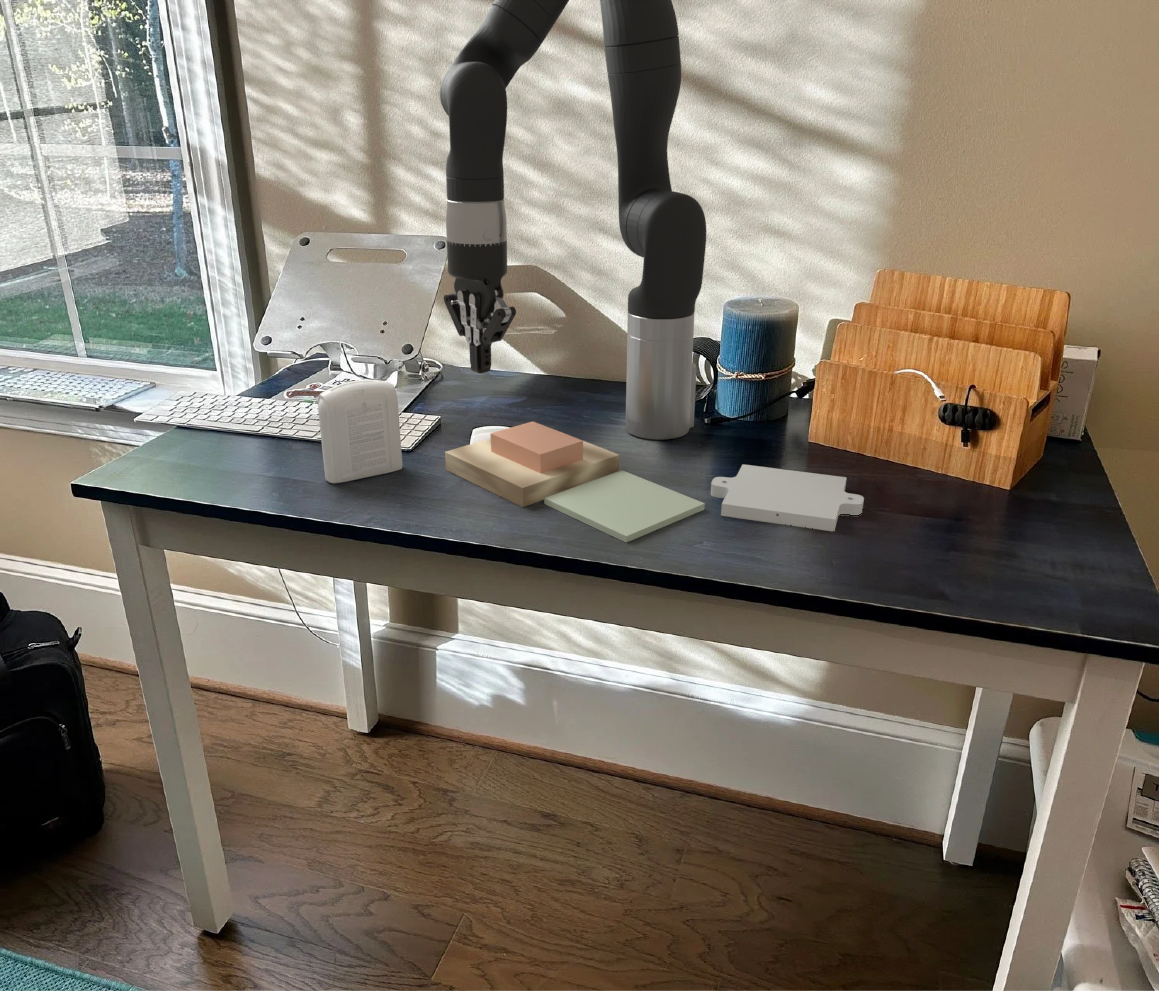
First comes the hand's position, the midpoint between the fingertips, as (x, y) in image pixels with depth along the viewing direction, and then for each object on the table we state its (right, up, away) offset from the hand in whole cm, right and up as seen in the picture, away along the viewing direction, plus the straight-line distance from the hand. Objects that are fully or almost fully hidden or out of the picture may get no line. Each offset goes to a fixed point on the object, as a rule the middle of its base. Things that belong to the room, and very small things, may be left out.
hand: (480, 371), depth 126 cm
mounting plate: (+38, -18, -11) cm, 43 cm away
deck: (+7, -13, -2) cm, 15 cm away
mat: (+18, -18, -12) cm, 28 cm away
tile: (+8, -11, -4) cm, 14 cm away
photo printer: (-15, -14, -2) cm, 20 cm away
